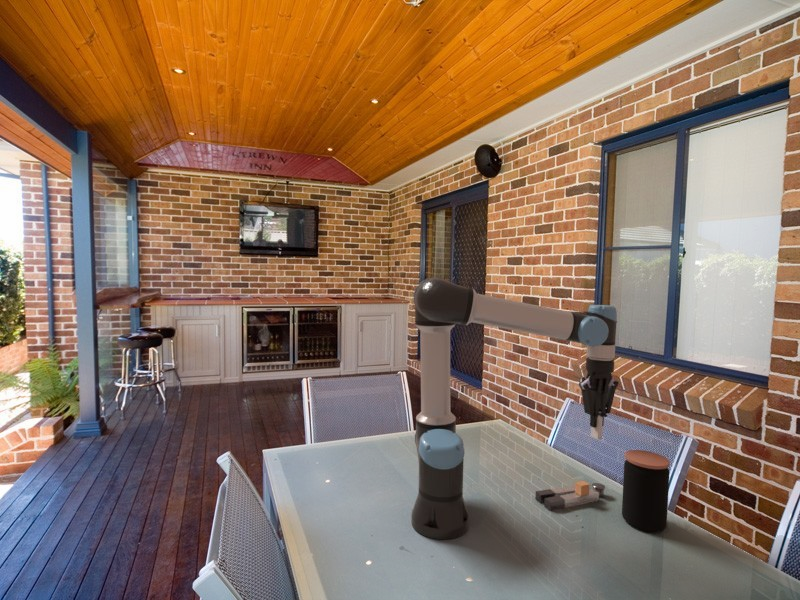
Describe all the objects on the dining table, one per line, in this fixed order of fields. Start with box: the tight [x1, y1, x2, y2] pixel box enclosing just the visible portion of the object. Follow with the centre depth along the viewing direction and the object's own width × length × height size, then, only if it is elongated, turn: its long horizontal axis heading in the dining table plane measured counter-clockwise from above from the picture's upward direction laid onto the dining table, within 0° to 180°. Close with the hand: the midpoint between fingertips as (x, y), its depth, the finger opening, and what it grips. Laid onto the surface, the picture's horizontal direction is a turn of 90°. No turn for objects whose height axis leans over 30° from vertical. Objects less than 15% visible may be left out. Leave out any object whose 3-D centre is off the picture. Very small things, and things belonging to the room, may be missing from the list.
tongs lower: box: [543, 482, 606, 512], centre depth 133 cm, size 22×5×3 cm, turn 111°
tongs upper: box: [535, 485, 592, 505], centre depth 134 cm, size 18×2×2 cm, turn 107°
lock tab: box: [574, 480, 590, 496], centre depth 132 cm, size 3×2×3 cm
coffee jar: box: [621, 449, 671, 534], centre depth 121 cm, size 11×11×18 cm
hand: (596, 437), depth 133 cm, fingers closed
